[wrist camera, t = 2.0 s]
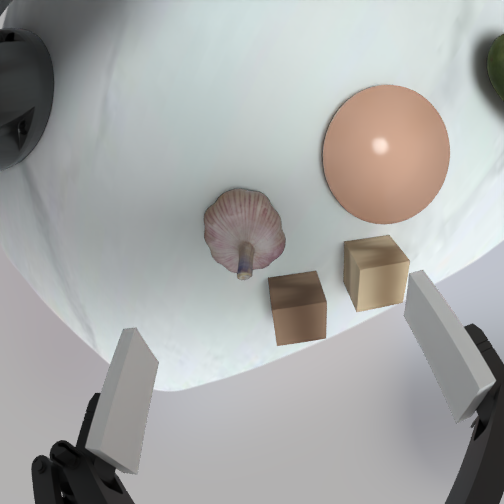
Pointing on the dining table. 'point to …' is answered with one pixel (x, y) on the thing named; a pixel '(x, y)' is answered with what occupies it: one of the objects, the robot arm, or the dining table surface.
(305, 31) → the dining table surface
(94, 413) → the robot arm
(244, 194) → the garlic bulb
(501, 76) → the fruit
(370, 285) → the oak block
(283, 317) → the walnut block
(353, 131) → the peach ellipsoid
